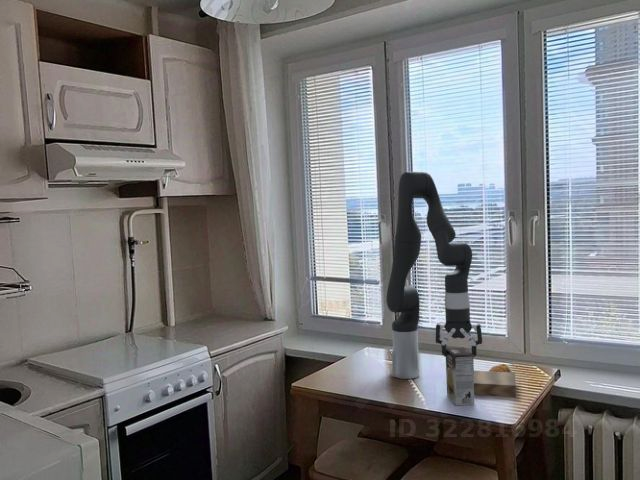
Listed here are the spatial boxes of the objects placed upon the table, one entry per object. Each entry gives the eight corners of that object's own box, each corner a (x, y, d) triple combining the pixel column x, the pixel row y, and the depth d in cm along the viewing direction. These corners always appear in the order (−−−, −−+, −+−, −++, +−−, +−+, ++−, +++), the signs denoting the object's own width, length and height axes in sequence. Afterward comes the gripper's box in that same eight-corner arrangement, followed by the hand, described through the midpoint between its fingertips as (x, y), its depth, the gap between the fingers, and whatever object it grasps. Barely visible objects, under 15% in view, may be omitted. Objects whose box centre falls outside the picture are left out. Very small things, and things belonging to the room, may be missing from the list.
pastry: (499, 381, 195) (498, 370, 195) (482, 377, 200) (482, 367, 200) (513, 375, 201) (513, 365, 201) (496, 372, 206) (496, 361, 206)
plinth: (470, 395, 182) (470, 383, 182) (473, 381, 196) (472, 370, 195) (516, 397, 178) (515, 385, 178) (515, 384, 191) (515, 372, 191)
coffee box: (446, 396, 182) (444, 347, 181) (465, 395, 183) (463, 346, 182) (455, 406, 173) (453, 355, 172) (475, 404, 174) (473, 353, 173)
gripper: (433, 308, 175) (435, 359, 175) (480, 308, 170) (482, 360, 171) (435, 304, 182) (438, 353, 182) (481, 303, 177) (483, 354, 178)
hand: (459, 356), depth 177 cm, fingers open, 8 cm apart
